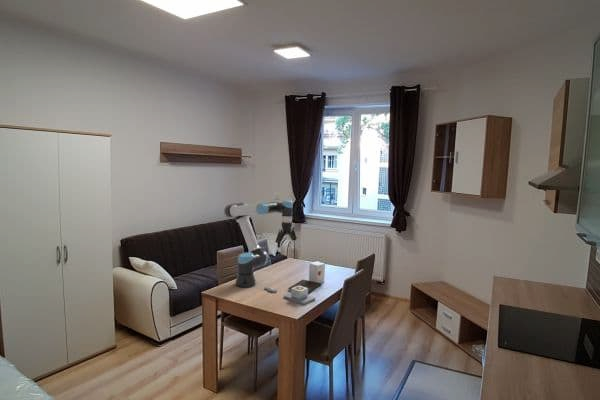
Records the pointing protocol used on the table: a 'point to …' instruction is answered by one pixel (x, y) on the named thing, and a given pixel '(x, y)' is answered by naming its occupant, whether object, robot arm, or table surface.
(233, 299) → the table surface
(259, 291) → the table surface
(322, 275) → the supplement box
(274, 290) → the chain tail
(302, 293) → the square tube segment
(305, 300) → the keeper
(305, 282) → the hardcover book
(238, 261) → the robot arm
